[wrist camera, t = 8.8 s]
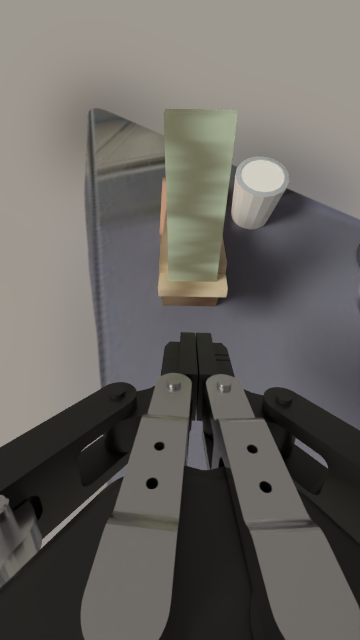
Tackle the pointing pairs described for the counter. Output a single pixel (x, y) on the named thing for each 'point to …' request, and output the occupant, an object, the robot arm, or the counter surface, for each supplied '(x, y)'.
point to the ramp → (196, 201)
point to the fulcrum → (189, 300)
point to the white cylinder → (257, 191)
